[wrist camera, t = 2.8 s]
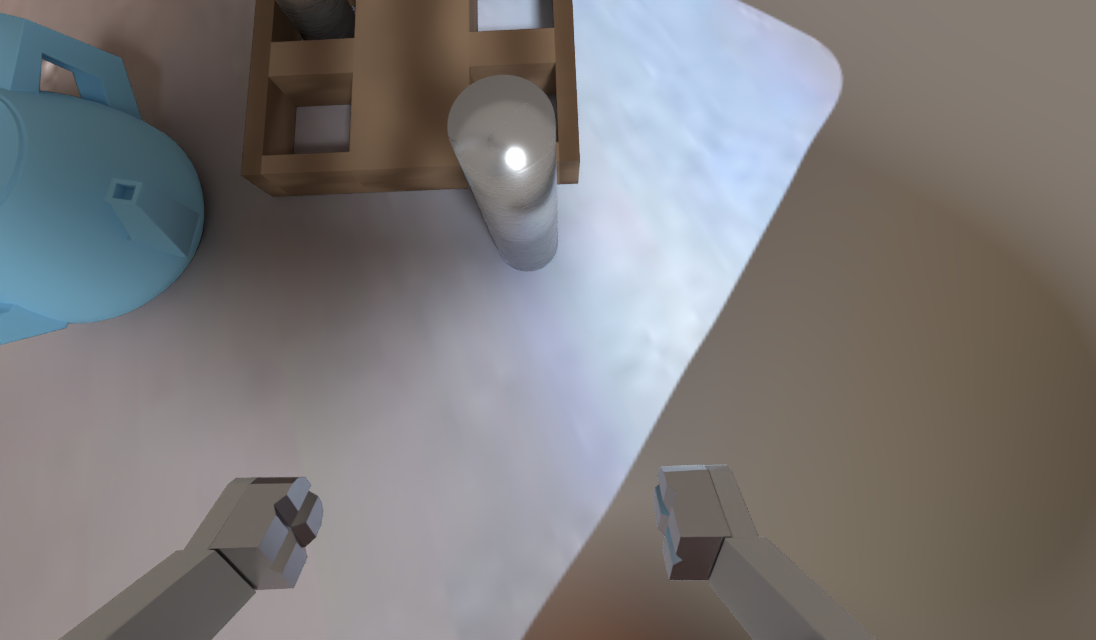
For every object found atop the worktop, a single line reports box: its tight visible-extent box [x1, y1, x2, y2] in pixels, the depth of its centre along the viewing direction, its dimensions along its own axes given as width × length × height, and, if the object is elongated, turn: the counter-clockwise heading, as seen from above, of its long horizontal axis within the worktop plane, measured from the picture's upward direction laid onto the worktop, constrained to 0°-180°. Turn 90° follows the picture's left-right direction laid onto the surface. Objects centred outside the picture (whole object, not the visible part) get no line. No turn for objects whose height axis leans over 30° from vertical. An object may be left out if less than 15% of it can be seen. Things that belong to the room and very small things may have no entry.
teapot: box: [0, 13, 204, 345], centre depth 25 cm, size 15×15×11 cm
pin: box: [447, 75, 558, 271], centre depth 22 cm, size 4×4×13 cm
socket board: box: [241, 0, 580, 197], centre depth 29 cm, size 21×16×3 cm
